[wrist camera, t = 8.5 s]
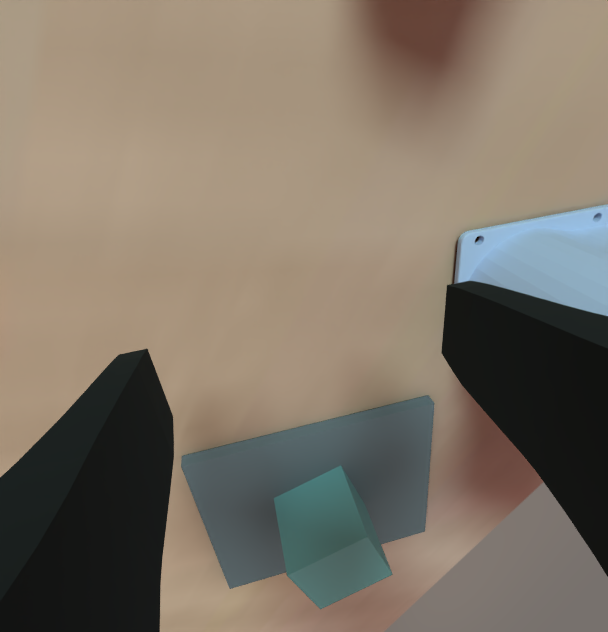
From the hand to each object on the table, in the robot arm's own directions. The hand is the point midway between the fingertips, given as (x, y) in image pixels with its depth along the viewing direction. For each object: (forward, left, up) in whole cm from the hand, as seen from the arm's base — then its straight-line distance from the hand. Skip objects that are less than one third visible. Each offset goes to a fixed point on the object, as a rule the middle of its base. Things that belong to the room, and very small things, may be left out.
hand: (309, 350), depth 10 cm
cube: (-1, +20, -10) cm, 22 cm away
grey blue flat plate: (-1, +20, -10) cm, 23 cm away
